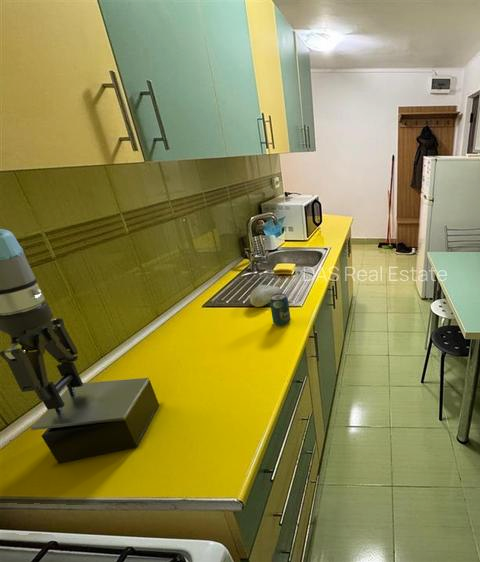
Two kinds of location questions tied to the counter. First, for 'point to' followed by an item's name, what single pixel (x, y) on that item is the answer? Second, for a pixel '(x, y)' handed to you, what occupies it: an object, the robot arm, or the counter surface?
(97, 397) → the lid
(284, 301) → the soda can
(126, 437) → the black hollow box
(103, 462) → the counter surface
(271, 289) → the rock
